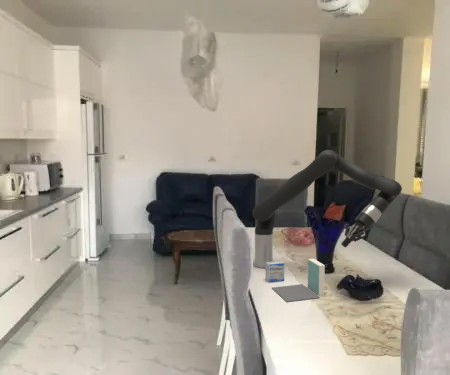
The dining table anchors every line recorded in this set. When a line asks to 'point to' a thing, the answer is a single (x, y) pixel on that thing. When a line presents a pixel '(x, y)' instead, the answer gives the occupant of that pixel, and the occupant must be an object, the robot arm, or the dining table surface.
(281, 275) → the medicine box
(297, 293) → the mat
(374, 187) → the robot arm
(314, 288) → the white and teal block
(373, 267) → the dining table surface
